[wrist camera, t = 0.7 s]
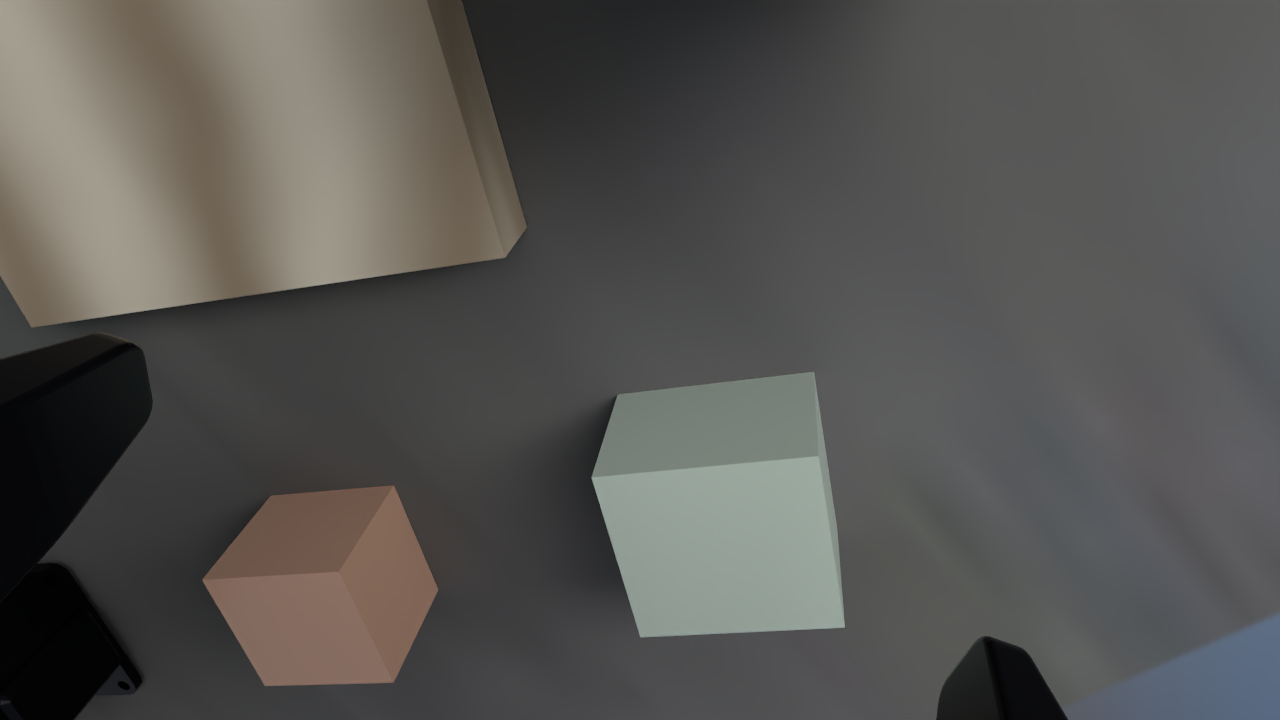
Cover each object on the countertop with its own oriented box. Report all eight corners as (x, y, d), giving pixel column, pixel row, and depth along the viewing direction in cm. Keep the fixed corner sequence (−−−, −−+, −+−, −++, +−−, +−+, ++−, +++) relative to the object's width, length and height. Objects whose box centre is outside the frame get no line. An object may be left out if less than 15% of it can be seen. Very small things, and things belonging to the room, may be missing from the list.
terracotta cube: (323, 593, 31) (265, 685, 27) (272, 493, 28) (201, 579, 25) (439, 587, 29) (393, 682, 26) (394, 483, 27) (338, 571, 24)
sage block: (659, 539, 27) (640, 637, 24) (618, 391, 24) (591, 477, 21) (836, 525, 26) (844, 627, 22) (813, 368, 23) (818, 456, 20)
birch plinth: (82, 296, 25) (31, 327, 24) (-239, -274, 19) (-343, -289, 17) (526, 227, 22) (505, 257, 20) (321, -488, 16) (265, -531, 14)
